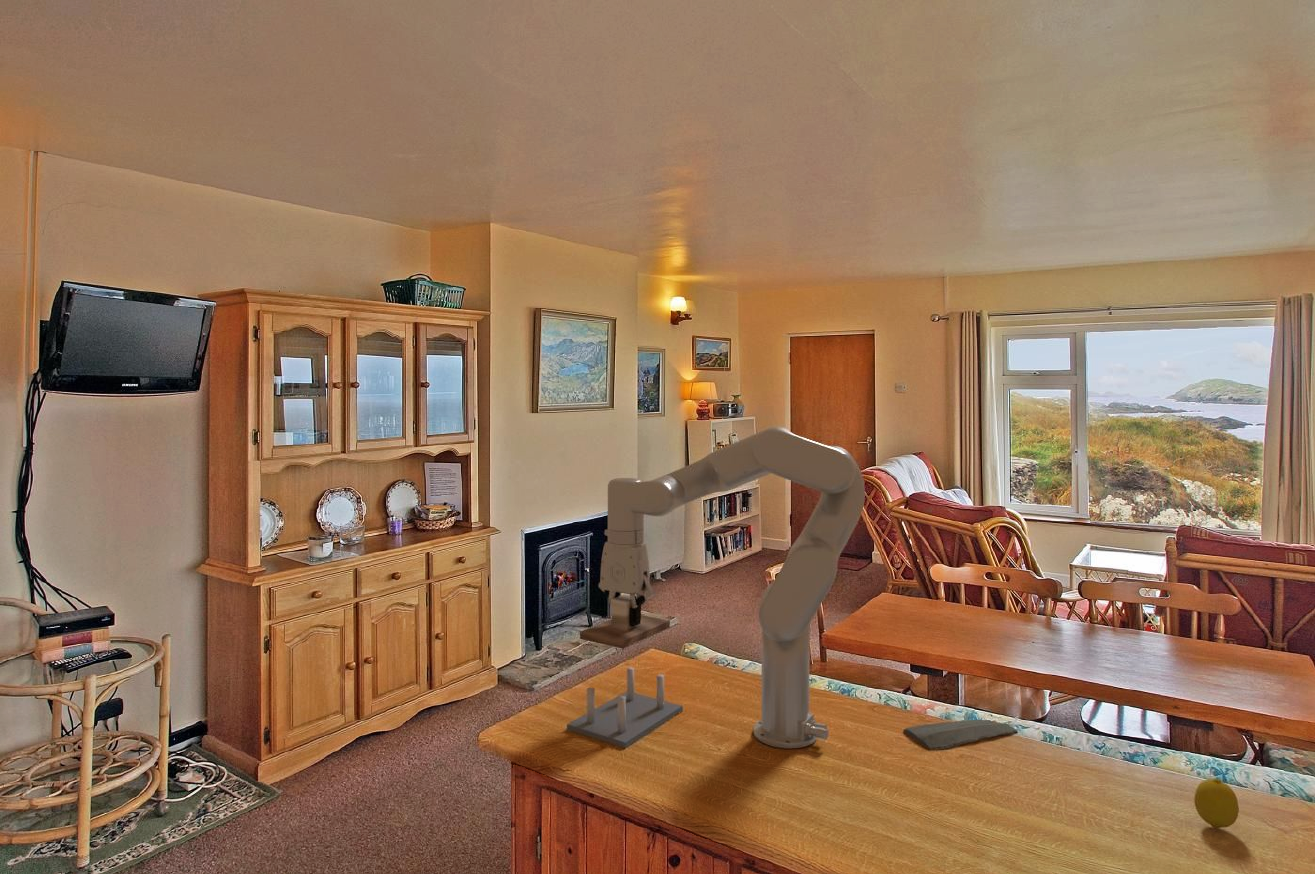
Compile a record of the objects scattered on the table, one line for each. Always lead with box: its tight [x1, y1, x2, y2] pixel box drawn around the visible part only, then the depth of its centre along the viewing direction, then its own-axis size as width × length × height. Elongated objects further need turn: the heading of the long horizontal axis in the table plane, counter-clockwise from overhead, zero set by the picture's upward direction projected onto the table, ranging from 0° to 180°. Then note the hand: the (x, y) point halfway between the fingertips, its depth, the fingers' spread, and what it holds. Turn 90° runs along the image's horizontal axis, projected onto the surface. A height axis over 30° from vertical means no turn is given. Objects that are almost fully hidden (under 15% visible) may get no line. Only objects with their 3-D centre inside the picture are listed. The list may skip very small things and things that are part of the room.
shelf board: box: [579, 593, 671, 649], centre depth 156 cm, size 17×11×8 cm, turn 146°
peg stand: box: [566, 667, 684, 749], centre depth 157 cm, size 15×21×8 cm
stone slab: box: [902, 719, 1018, 751], centre depth 150 cm, size 22×3×10 cm
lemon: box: [1193, 777, 1240, 830], centre depth 116 cm, size 6×6×8 cm
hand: (625, 622), depth 156 cm, fingers closed on shelf board, 4 cm apart
